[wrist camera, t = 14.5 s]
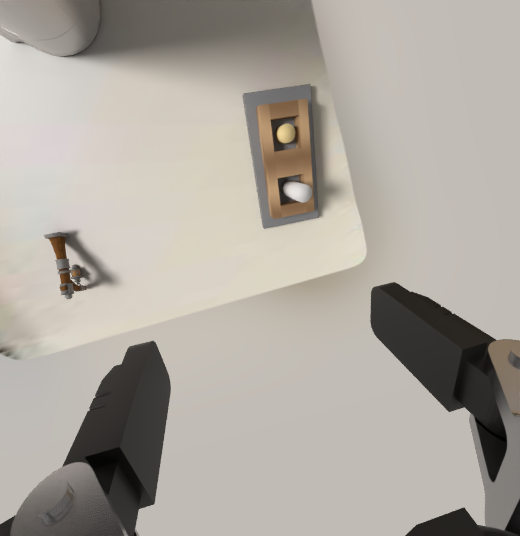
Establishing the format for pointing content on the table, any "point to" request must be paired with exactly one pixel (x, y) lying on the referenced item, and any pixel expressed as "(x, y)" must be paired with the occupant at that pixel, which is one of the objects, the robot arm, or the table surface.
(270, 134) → the holed bar
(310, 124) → the base
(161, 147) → the table surface
